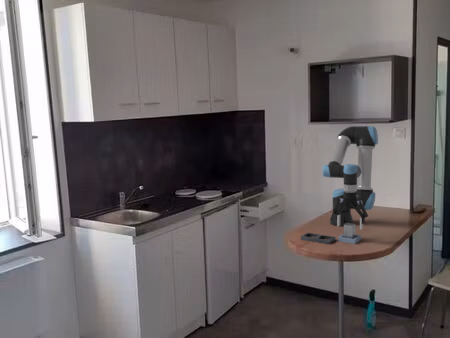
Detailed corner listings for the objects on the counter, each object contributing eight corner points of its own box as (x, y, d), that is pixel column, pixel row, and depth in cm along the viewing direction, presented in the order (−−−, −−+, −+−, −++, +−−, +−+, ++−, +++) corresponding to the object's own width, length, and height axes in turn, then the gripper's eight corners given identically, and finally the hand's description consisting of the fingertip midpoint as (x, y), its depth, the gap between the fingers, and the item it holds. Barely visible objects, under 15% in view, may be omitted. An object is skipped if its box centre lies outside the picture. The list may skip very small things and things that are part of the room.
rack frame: (307, 235, 275) (307, 232, 275) (335, 240, 264) (335, 237, 264) (300, 239, 268) (300, 236, 268) (329, 244, 257) (329, 240, 257)
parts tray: (344, 237, 270) (344, 232, 270) (361, 239, 264) (361, 235, 264) (338, 241, 262) (338, 237, 262) (354, 244, 257) (355, 239, 256)
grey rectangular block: (347, 237, 267) (347, 222, 266) (355, 238, 264) (355, 223, 263) (343, 239, 263) (343, 224, 262) (352, 241, 260) (352, 225, 259)
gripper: (327, 190, 264) (327, 225, 267) (369, 194, 249) (369, 231, 252) (332, 188, 270) (332, 223, 273) (374, 192, 255) (373, 228, 258)
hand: (349, 227), depth 262 cm, fingers open, 13 cm apart
